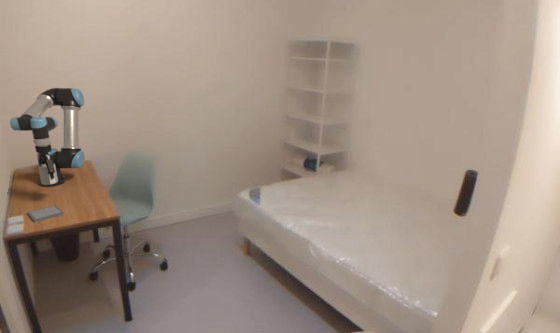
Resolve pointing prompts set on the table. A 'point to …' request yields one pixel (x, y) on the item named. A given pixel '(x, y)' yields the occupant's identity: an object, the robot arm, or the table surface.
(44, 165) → the mug
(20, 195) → the table surface
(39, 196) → the table surface
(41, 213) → the coaster
